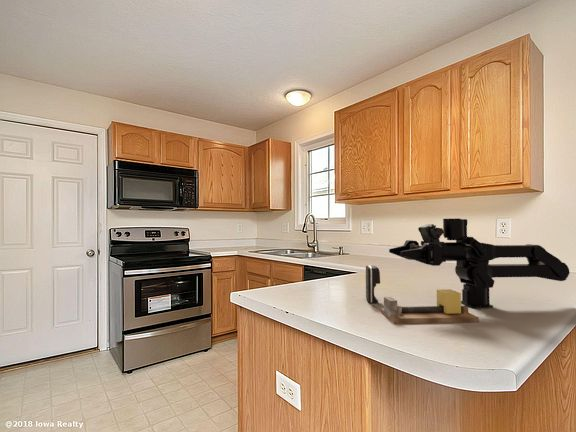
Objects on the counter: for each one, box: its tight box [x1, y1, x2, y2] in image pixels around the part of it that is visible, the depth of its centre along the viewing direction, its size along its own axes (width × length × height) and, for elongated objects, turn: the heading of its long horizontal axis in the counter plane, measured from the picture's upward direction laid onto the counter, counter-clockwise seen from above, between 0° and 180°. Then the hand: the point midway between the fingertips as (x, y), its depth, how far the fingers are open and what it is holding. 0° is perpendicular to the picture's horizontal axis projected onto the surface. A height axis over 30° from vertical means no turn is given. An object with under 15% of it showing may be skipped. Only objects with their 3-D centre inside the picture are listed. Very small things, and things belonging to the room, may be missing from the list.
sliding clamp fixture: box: [380, 296, 480, 324], centre depth 85 cm, size 22×10×5 cm, turn 93°
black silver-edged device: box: [365, 264, 381, 304], centre depth 103 cm, size 7×4×11 cm, turn 174°
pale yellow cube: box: [436, 288, 462, 314], centre depth 86 cm, size 4×5×5 cm
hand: (394, 252), depth 97 cm, fingers open, 9 cm apart
